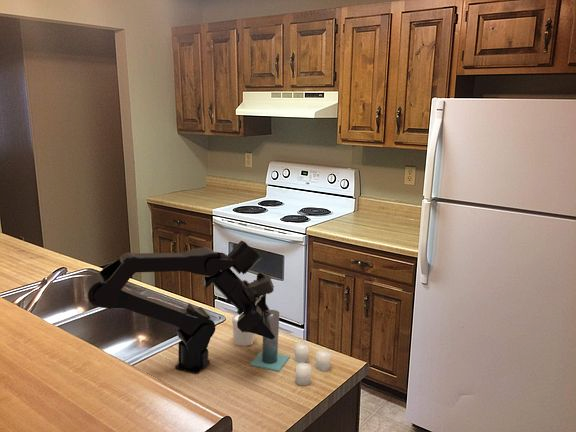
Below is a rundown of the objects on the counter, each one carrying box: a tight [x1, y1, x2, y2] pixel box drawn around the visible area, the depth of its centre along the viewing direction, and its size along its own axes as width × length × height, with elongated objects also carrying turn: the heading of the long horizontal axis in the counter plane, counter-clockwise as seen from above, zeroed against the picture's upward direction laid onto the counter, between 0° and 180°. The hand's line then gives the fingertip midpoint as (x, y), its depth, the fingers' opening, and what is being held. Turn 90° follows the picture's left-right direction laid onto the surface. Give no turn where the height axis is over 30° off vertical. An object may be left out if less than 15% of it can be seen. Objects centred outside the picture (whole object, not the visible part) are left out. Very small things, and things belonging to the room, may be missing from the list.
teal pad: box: [249, 349, 290, 372], centre depth 127 cm, size 8×8×1 cm
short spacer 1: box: [293, 342, 310, 364], centre depth 128 cm, size 4×4×4 cm
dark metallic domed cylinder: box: [261, 309, 280, 364], centre depth 125 cm, size 4×4×13 cm
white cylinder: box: [231, 313, 256, 347], centre depth 137 cm, size 7×7×7 cm
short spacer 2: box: [294, 362, 312, 386], centre depth 117 cm, size 4×4×4 cm
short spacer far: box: [315, 349, 332, 372], centre depth 124 cm, size 4×4×4 cm
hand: (274, 330), depth 125 cm, fingers open, 9 cm apart
